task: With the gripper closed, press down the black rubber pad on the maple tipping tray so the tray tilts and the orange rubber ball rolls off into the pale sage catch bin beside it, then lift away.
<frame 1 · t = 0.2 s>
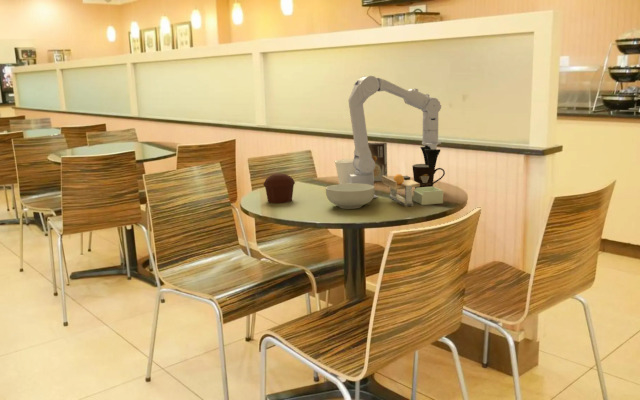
hand: (430, 166, 220), 10 cm above the table, tool pointing down, fingers open, 7 cm apart
coffee mug: (427, 191, 225), on the table
lever stand: (400, 201, 208), on the table
coffee box: (376, 180, 253), on the table
cereal bowl: (350, 207, 203), on the table
cup: (347, 187, 239), on the table
ball: (398, 179, 202), point 9 cm above the table, tilted 6°, touching lever
lever: (400, 180, 207), point 7 cm above the table, hinge at -4.0°, touching ball
catch bin: (428, 201, 206), on the table
muffin: (280, 201, 217), on the table
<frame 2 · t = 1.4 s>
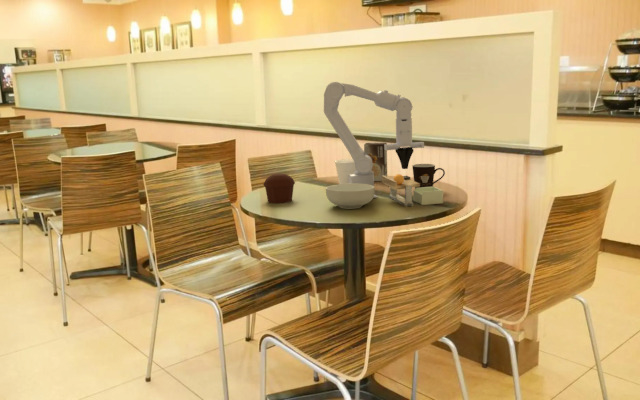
hand: (404, 168, 214), 10 cm above the table, tool pointing down, fingers closed
nothing on the table moved.
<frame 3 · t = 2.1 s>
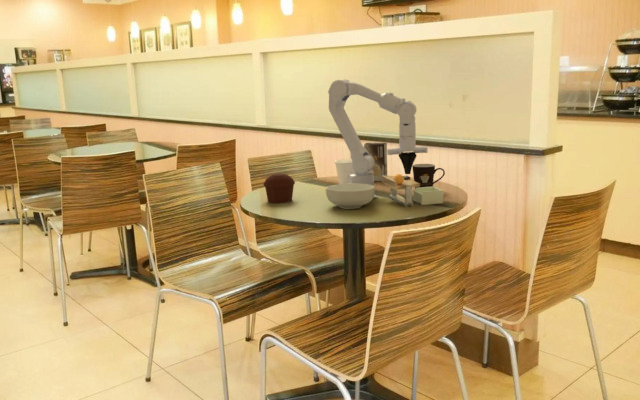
hand: (407, 173, 211), 9 cm above the table, tool pointing down, fingers closed
nothing on the table moved.
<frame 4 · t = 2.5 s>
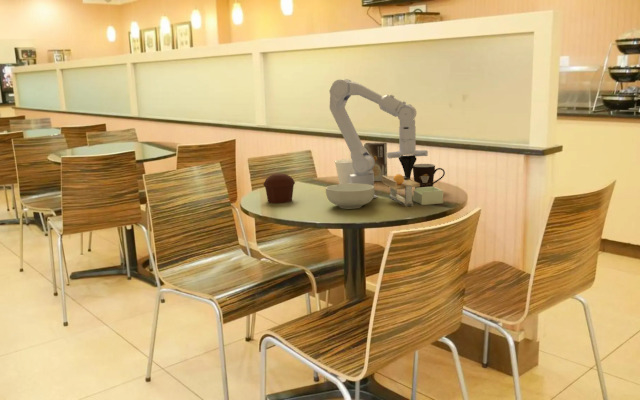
hand: (407, 177, 211), 8 cm above the table, tool pointing down, fingers closed, pressing on lever
lever: (400, 180, 207), point 7 cm above the table, hinge at -4.0°, touching ball, gripper
everything else where it was.
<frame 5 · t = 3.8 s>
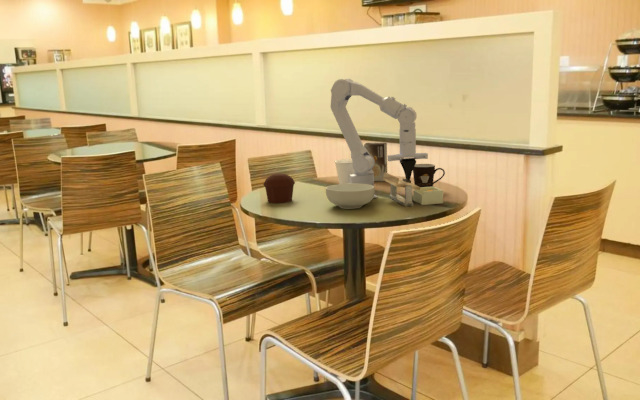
hand: (408, 179, 211), 7 cm above the table, tool pointing down, fingers closed, pressing on lever
ball: (430, 194, 206), point 2 cm above the table, tilted 20°, touching catch bin
lever: (401, 180, 207), point 7 cm above the table, hinge at 12.8°, touching gripper
everything else where it was.
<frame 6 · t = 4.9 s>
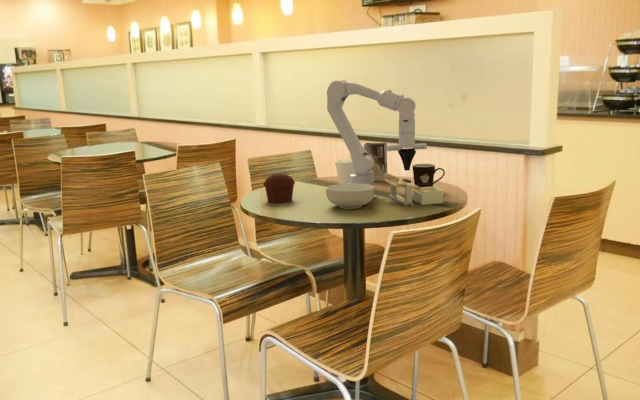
hand: (406, 170, 211), 10 cm above the table, tool pointing down, fingers closed
ball: (427, 195, 205), point 2 cm above the table, tilted 16°, touching catch bin
lever: (401, 180, 207), point 7 cm above the table, hinge at 13.0°
everything else where it was.
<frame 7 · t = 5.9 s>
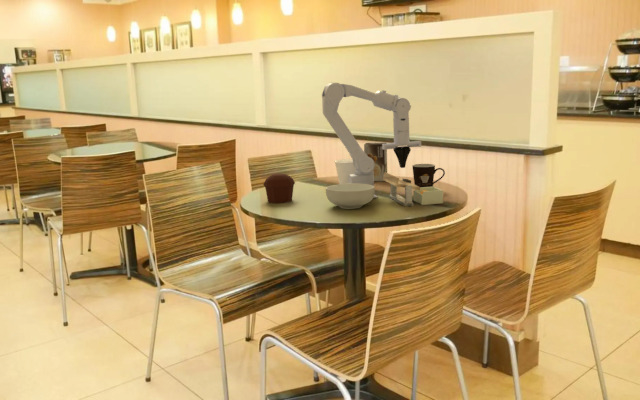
hand: (402, 167, 217), 10 cm above the table, tool pointing down, fingers closed
ball: (424, 195, 205), point 2 cm above the table, tilted 49°, touching catch bin
everything else where it was.
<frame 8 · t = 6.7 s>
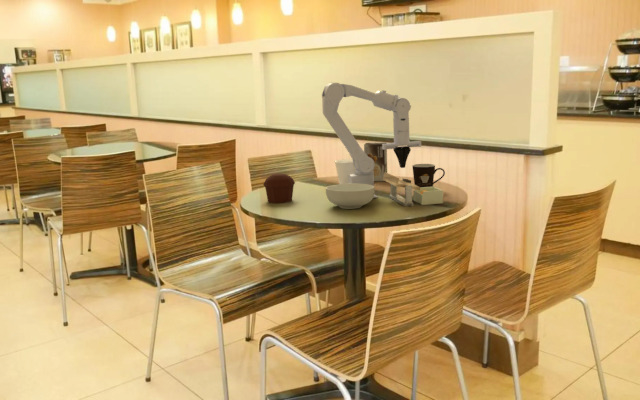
hand: (402, 167, 217), 10 cm above the table, tool pointing down, fingers closed
nothing on the table moved.
at the end: ball inside the target area on the catch bin (1.4 cm from its centre), point 2.4 cm above the catch bin's base; ball touching catch bin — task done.
